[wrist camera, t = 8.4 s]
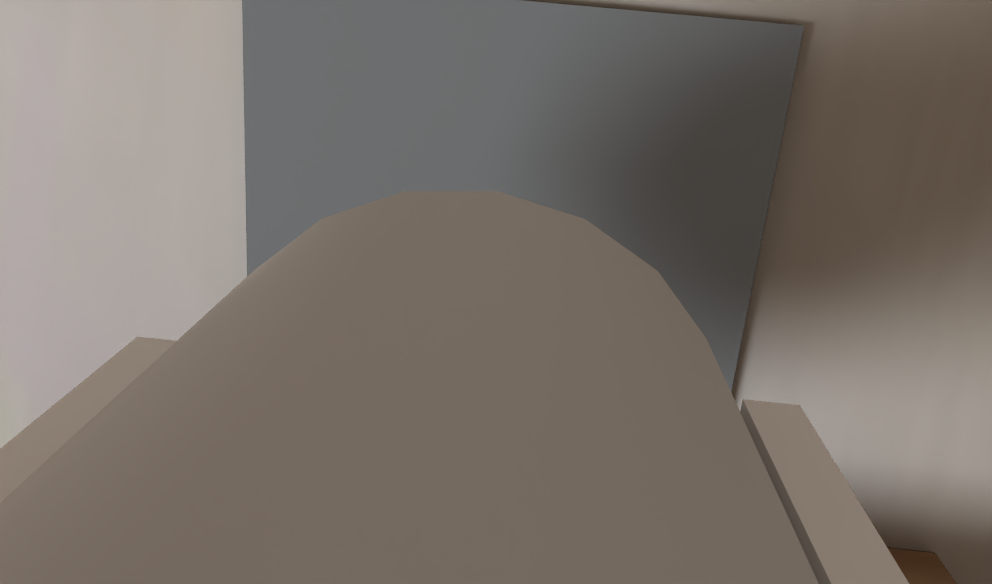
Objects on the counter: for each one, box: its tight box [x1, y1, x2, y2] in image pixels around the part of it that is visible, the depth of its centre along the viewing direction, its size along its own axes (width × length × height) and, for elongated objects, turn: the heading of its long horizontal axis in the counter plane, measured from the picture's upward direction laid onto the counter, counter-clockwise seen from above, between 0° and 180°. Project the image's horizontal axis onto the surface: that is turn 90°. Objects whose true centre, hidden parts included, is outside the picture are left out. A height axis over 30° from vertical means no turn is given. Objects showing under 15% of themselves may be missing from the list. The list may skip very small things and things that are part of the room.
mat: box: [242, 0, 804, 391], centre depth 20 cm, size 12×12×1 cm
